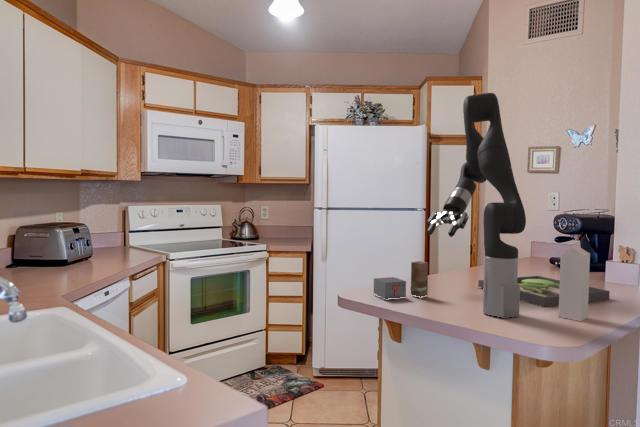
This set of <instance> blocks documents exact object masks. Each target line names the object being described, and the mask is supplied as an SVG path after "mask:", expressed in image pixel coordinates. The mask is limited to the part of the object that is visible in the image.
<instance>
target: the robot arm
mask: <svg viewBox="0 0 640 427" xmlns="http://www.w3.org/2000/svg"><path fill="white" fill-rule="evenodd" d="M462 106H463V107H462V108H463V109H462V112H463V124H464V133H465V142H466V144H465V145H466V149H465V160H466V162H465V163H463V164H462V166H461V169H460V174H459V178H458V182H457V184H456V185H455V187H454V189H453V190H452V191H451V192H450V195H449V196H448V198H447V200H446V201H445V203H444V205H443V208H442V210H441V211H440V212H439V211H437V210H433V212H432V213H431V215H430V216H429V218H428V219H427V223H428V228H427V233H428V235H431V236H432V235H433V234H434V232H435V230H436V228H438V227H439V226H442V225H444V224H449V225H451V224H453V225H451V226H450V228H449V230H448V233H447V234H448V236H449V237H450V238H452V237H453V236H455V234H456V233H457V231H458V230H459V229H461V230H464V228H465V227H466V225H467V222H468V220H469V218H470V217H469V215H468V213H467V212H466V209H467V208H468V205H469V204H470V202H471V200H472V197H473V196H474V193H475V192H476V189H477V184H476V183H478V184H482V183H485V182H486V181H487V182H488V183H489V184H491V186H492V187H494V189H495V190H496V191H497V192H498V193H499V194H500V197H501V198H502V202H488V203H487V204H486V205H485V207H484V210H483V219H482V220H483V247H484V248H483V249H484V263H483V265H484V266H483V267H484V268H483V269H484V270H483V280H484V290H483V297H482V298H483V302H482V305H483V306H482V313H483V312H484V313H486V314H488V315H487V316H489V315H492V316H491V317H493V316H497V317H496V318H499V317H502V318H501V319H503V318H504V319H510V318H509V317H512V318H518V317H517V316H519V317H520V301H521V300H520V291H521V287H520V285H519V284H517V277H518V274H519V272H518V268H519V266H518V265H519V249H518V247H516V246H514V245H511V244H508V243H505V242H504V241H503V240H502V239H501V234H502V235H505V234H506V235H508V234H509V235H513V234H514V235H515V234H520V233H522V232H524V230H525V228H526V225H527V224H526V223H527V216H526V211H525V207H524V204H523V202H522V199H521V196H520V193H519V191H518V187H517V184H516V181H515V175H514V173H513V168H512V163H511V158H510V153H509V149H508V145H507V142H506V138H505V134H504V130H503V123H502V119H501V117H502V116H501V111H500V110H501V109H500V105H499V100H498V97H497V95H496V94H495V93H494V92H485V93H478V94H471V95H467V96H466V97H465V98H464V100H463V105H462ZM480 122H481V123H482V122H490V123H489V126H488V129H487V132H486V133H485V135H484V137H483V136H482V135H481V133H480V132H479V131H478V130H477V129H476V127H475V125H474V124H475V123H480ZM475 182H476V183H475ZM458 221H459V222H458ZM484 313H483V314H484ZM486 314H485V315H486Z"/></svg>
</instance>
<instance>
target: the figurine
mask: <svg viewBox="0 0 640 427" xmlns="http://www.w3.org/2000/svg"><path fill="white" fill-rule="evenodd" d="M521 282H522V283H523V284H519V285H520V288H522V289H523V290H527V291H533V292H536V293H538V294H540V295H542V294H543V290H541V289H544V290H549V289H550V288H554V286H556V287H559V288H560V284H557V283H554V282H551V281H547V280H542V279H525V280H522V281H521Z"/></svg>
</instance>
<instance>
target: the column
mask: <svg viewBox="0 0 640 427" xmlns="http://www.w3.org/2000/svg"><path fill="white" fill-rule="evenodd" d="M410 264H411V265H410V266H411V268H410V270H411V271H410V273H411V274H410V295H411V294H412V295H416V296H420V297H421V296H425V295H427V296H428V290H429V286H428V285H429V284H428V283H429V282H428V279H429V278H428V277H429V275H428V274H429V263H428V262H427V261H421V260H420V261H412V262H411V263H410Z"/></svg>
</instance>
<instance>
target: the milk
mask: <svg viewBox="0 0 640 427" xmlns="http://www.w3.org/2000/svg"><path fill="white" fill-rule="evenodd" d="M590 261H591V253H590V252H588V251H587V250H585V249H584V248H582V247H581V246H580V242H579V241H576V242H572V243H571V248H568V249H567V250H565V251H562V252H560V265H559V266H560V267H559V280H560V289H559V290H558V291H559V293H558V295H559V305H558V318H561V319H562V318H563V319H566V318H567V320H571V319H572V320H571V321H576V320H577V322H582V321H584V320H586V319H587V318H589V302H588V296H589V287H590V266H591V265H590V263H591V262H590Z"/></svg>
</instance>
